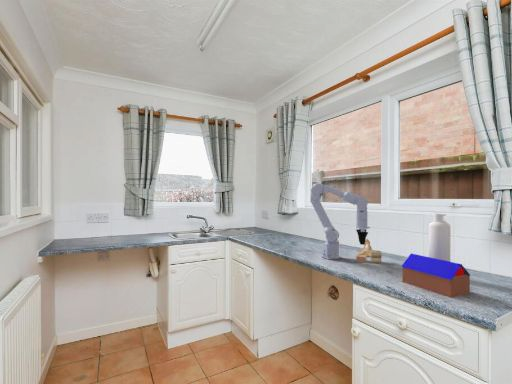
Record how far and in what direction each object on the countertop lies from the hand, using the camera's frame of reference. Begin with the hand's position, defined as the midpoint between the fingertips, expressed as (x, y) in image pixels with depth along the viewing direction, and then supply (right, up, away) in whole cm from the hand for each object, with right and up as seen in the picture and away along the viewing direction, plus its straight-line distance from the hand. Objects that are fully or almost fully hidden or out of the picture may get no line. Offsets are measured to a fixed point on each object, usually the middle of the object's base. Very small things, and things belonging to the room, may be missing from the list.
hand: (361, 243), depth 155 cm
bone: (+10, -10, +15) cm, 20 cm away
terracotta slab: (-1, -10, -1) cm, 10 cm away
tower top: (+6, -7, -4) cm, 10 cm away
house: (+12, -10, -45) cm, 47 cm away
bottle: (+24, -10, -30) cm, 39 cm away
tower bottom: (+6, -10, -4) cm, 12 cm away
